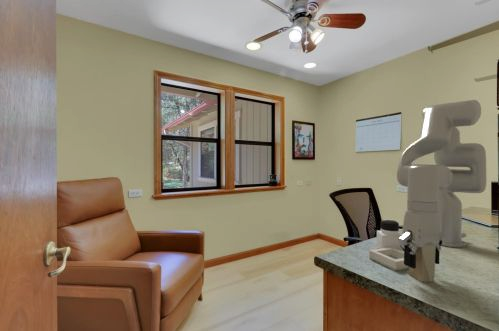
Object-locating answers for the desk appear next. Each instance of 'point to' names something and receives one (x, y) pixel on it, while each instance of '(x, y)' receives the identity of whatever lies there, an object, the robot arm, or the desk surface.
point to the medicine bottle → (388, 235)
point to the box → (424, 263)
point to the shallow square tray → (389, 258)
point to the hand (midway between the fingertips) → (421, 264)
